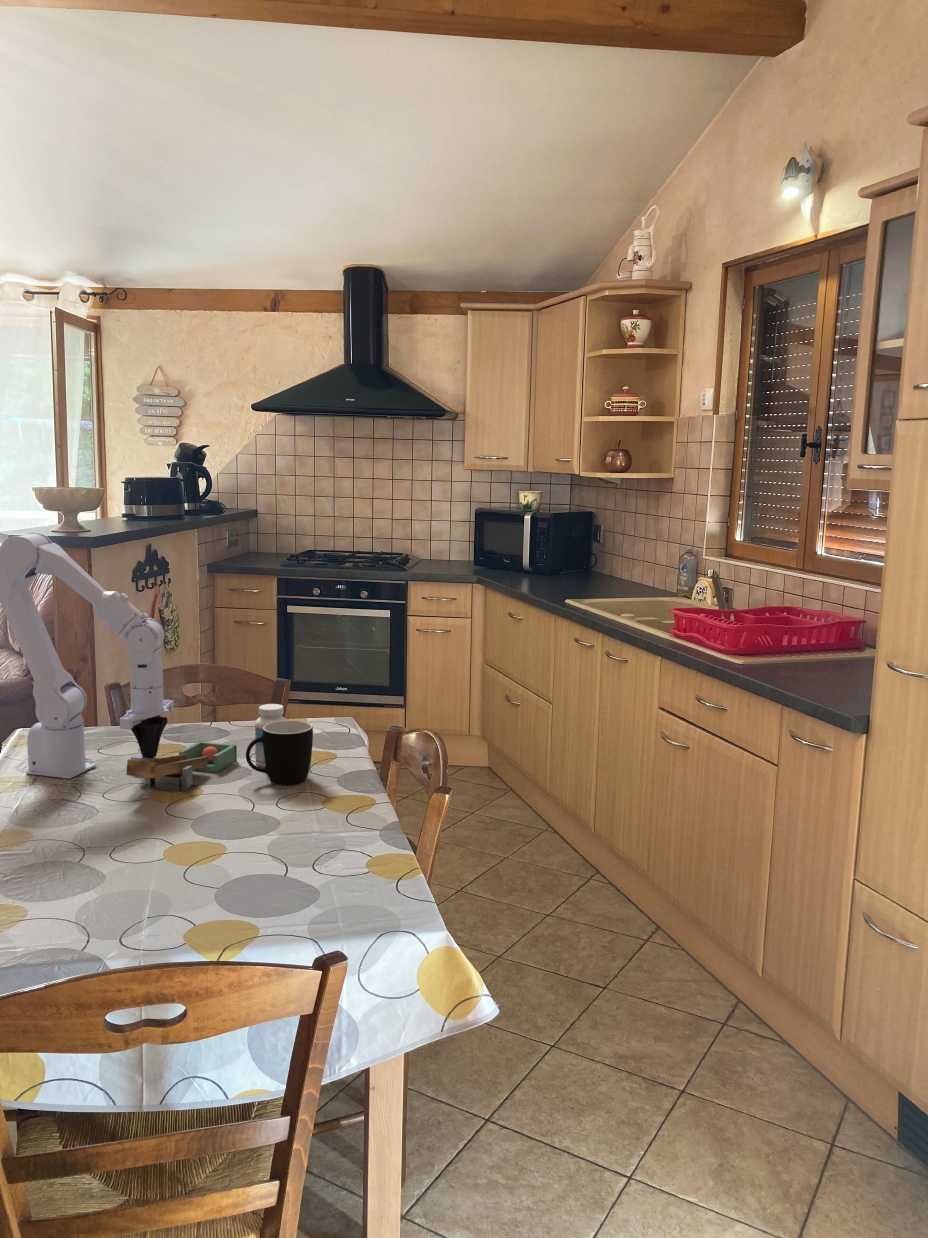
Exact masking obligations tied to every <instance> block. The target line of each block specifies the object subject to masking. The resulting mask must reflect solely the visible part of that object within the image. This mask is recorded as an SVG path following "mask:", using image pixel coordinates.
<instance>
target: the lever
mask: <svg viewBox="0 0 928 1238" xmlns="http://www.w3.org/2000/svg"><path fill="white" fill-rule="evenodd" d="M186 759H187V754H181V755H179V754H177V755H171V756H165V757H164V756H157V755H156V757H154V758H144V757H142V754H141V755H136V756H131V757H130V759H127V761H126V763H127V764H126V776H130V777H138V778H139V777H141V778H146V777H147V778H155V777H160V776H165V775H169V774H174V775H182V769H183V768H185V767H187V766H192V771H194V770H193V769H197V768H202V767H206V766H207V765H208V757H207V756H204V757H199V758H194V759H189V760H186Z"/></svg>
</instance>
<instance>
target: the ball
mask: <svg viewBox="0 0 928 1238" xmlns="http://www.w3.org/2000/svg"><path fill="white" fill-rule="evenodd" d="M217 753H218V751H217V749H216V748H215V747H211V746H210V747H207V748H205V749H204V750H203V752H202V757H204V756H207V757H208V762H213V761H214V760H213V756H214V755H215V754H217Z"/></svg>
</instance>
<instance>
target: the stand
mask: <svg viewBox="0 0 928 1238" xmlns="http://www.w3.org/2000/svg"><path fill="white" fill-rule="evenodd" d="M198 787H199V784H195V783H194V782H193V770H192V766H187V767H185V768H183V769H182V775H174V774H169V775H165V776H160V777H155V778H147V777H145V784H142V785H140V789H145V790H154V791H160V792H162V791H163V792H171V793H178V794H179V793H180V794H188V793H189V792H191V791H193V790H194V789H196V788H198Z"/></svg>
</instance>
